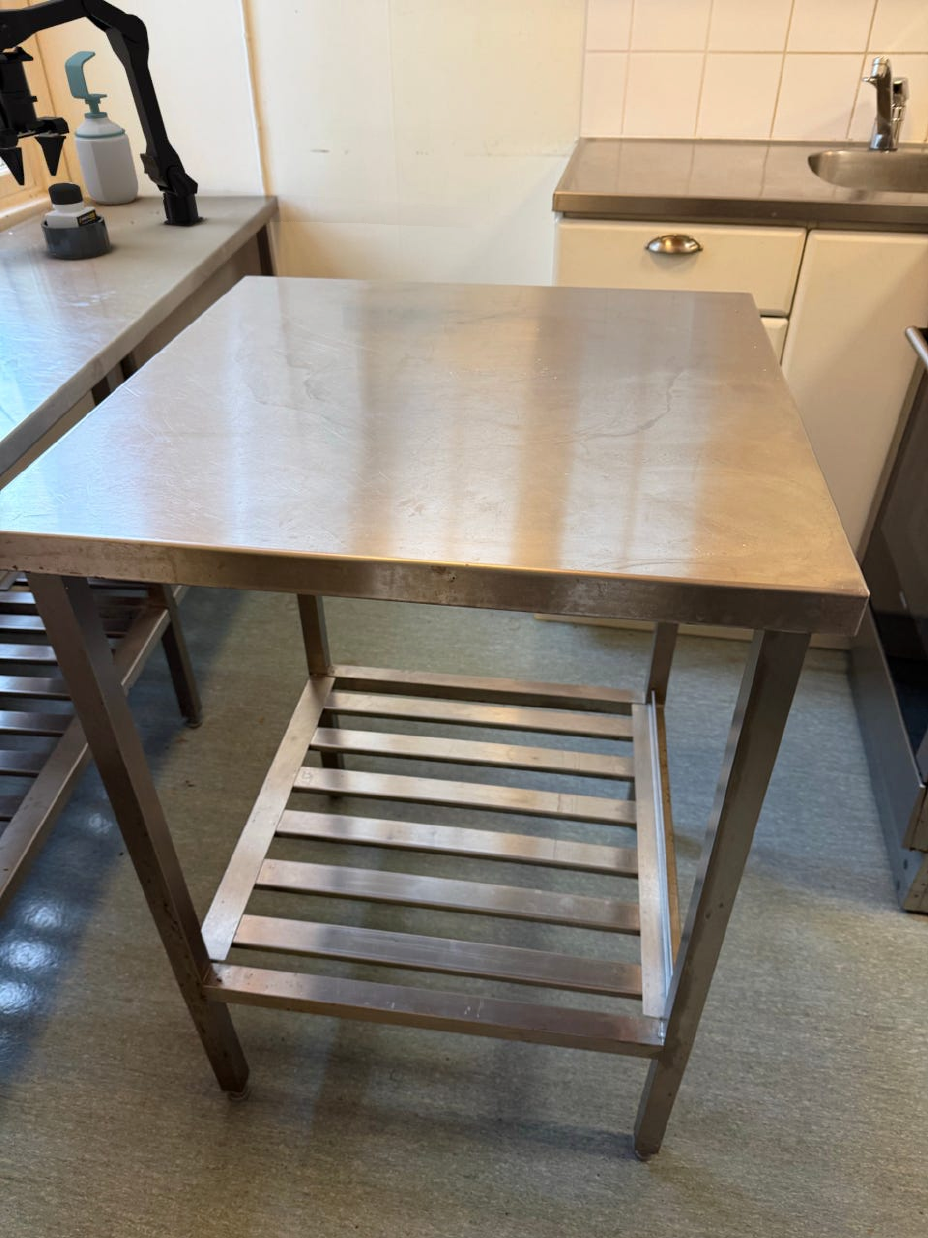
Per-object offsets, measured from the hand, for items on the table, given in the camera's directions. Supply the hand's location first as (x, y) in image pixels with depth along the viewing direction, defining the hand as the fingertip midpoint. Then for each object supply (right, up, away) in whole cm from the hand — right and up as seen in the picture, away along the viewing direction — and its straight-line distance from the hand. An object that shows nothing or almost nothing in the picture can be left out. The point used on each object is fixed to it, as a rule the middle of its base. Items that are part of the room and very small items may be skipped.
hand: (38, 180), depth 179 cm
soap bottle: (-1, +15, +42) cm, 45 cm away
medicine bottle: (+6, -11, +6) cm, 14 cm away
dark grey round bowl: (+6, -12, +6) cm, 14 cm away
